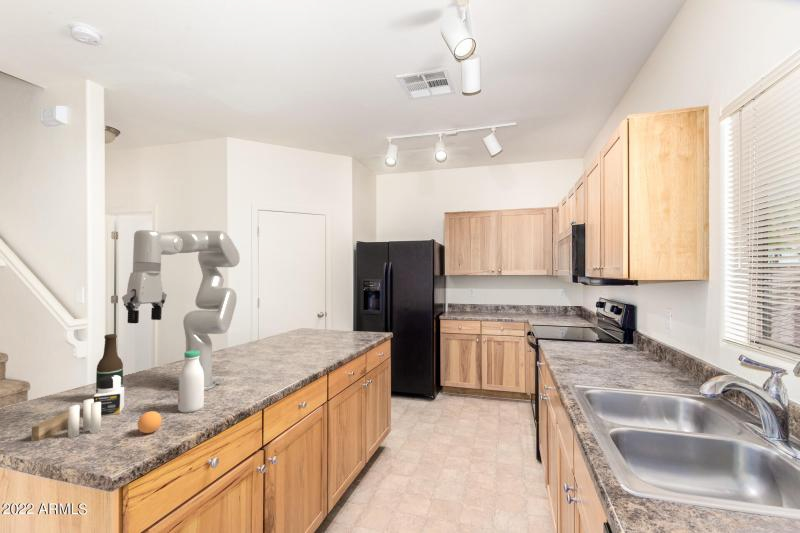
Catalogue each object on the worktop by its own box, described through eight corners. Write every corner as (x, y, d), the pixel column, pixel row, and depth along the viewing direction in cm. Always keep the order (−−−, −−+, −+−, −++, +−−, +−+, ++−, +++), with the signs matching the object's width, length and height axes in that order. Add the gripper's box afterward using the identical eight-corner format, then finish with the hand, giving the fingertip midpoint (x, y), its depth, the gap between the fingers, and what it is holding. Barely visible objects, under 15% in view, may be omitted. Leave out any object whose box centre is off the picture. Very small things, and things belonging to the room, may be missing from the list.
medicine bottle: (92, 417, 120) (93, 380, 120) (98, 410, 126) (99, 375, 126) (119, 414, 123) (120, 378, 123) (124, 406, 129) (124, 372, 130)
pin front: (101, 429, 111) (101, 401, 111) (99, 432, 109) (100, 403, 109) (91, 431, 110) (91, 402, 110) (89, 434, 108) (89, 405, 108)
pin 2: (93, 425, 114) (94, 398, 114) (92, 428, 112) (92, 400, 112) (83, 427, 112) (84, 399, 112) (81, 430, 110) (82, 401, 110)
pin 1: (79, 432, 109) (80, 404, 109) (77, 436, 107) (78, 406, 107) (69, 434, 107) (69, 405, 107) (67, 438, 105) (67, 408, 105)
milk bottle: (208, 406, 131) (209, 350, 131) (189, 414, 123) (190, 354, 123) (192, 403, 133) (193, 348, 133) (172, 411, 126) (173, 352, 126)
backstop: (75, 423, 115) (76, 410, 115) (38, 440, 103) (39, 426, 103) (69, 423, 115) (69, 410, 115) (31, 440, 103) (31, 426, 103)
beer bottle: (107, 403, 132) (109, 336, 132) (90, 402, 133) (91, 335, 134) (127, 396, 140) (129, 333, 140) (110, 395, 141) (112, 332, 141)
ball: (162, 426, 114) (162, 406, 114) (161, 433, 109) (161, 413, 109) (138, 430, 111) (138, 410, 111) (136, 438, 106) (136, 417, 106)
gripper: (155, 269, 129) (154, 318, 128) (113, 267, 111) (111, 324, 111) (176, 269, 128) (174, 318, 127) (136, 267, 111) (134, 324, 110)
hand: (145, 321), depth 119 cm, fingers open, 9 cm apart
